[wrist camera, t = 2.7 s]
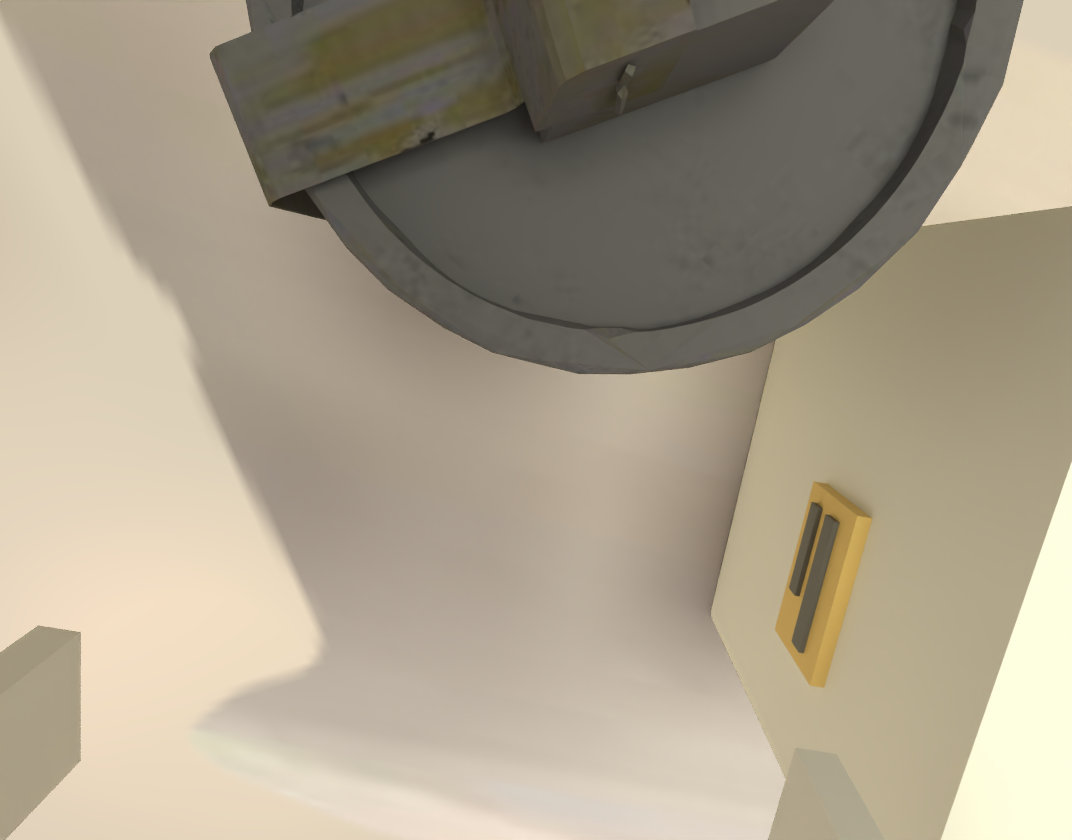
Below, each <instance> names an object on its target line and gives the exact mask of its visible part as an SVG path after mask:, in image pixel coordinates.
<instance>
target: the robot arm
mask: <svg viewBox="0 0 1072 840" xmlns="http://www.w3.org/2000/svg"><path fill="white" fill-rule="evenodd" d="M80 636H81V633H80V632H75V631H69V630H63V629H56V628H50V627H44V626H37V627H36V628H34V629H33V630H31V631H30V632H29V633H27V634H26V635H24V636H23V637H22V638H20V639H19V640H17V641H16V642H14V643H13V644H12V645H10V646H9V647H7V648H6V649H5V650H3V651H2V652H0V840H5V839H6V838H7V837H8V836H9V835H10V834H11V833H12V832H13V831H14V830H15V829H16V828H17V827H18V826H19V825H20V824H21V823H22V822H23V820H24V819H25V818H26V817H27V816H28V815H29V814H30V813H31V812H32V811H33V810H34V809H35V808H36V807H37V806H38V805H39V804H40V803H41V801H42V800H43V799H44V798H45V797H46V796H47V795H48V794H49V793H50V792H51V791H52V790H53V789H54V788H55V787H56V786H57V785H58V784H59V783H60V782H61V780H62V779H63V778H64V777H65V776H66V775H67V774H68V773H69V772H70V771H71V770H72V769H73V768H74V767H75V766H76V764H78V763H79V761H80V665H81V662H80V661H81V659H80V657H81V656H80V654H81V652H80V651H81V647H80V646H81V642H80V640H81V637H80ZM768 840H885V839H884V837H883V835H882V833H881V832H880V830H879V828H878V826H877V825H876V823H875V821H874V819H873V818H872V816H871V814H870V812H869V810H868V809H867V807H866V805H865V803H864V802H863V800H862V798H861V796H860V795H859V793H858V791H857V789H856V787H855V786H854V784H853V782H852V780H851V779H850V777H849V775H848V773H847V772H846V770H845V768H844V766H843V764H842V763H841V761H840V759H839V757H838V756H837V754H832V753H826V752H820V751H814V750H807V749H801V748H795V751H794V754H793V757H792V761H791V764H790V767H789V771H788V774H787V778H786V781H785V784H784V788H783V791H782V794H781V798H780V801H779V805H778V808H777V811H776V815H775V818H774V821H773V825H772V828H771V832H770V835H769V838H768Z"/></svg>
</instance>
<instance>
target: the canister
mask: <svg viewBox="0 0 1072 840" xmlns="http://www.w3.org/2000/svg"><path fill="white" fill-rule="evenodd" d="M246 4H247V9H248V15H249V20H250V26H251V31H252V32H250V33H248V34H246V35H243V36H241V37H238V38H236V39H233V40H231V41H228V42H226V43H223V44H221V45H219V46H216V47H215V48H214V49H213V50H212V52H211V53H210V59H211V61H212V64H213V66H214V69H215V71H216V74H217V77H218V79H219V82H220V84H221V87H222V89H223V92H224V94H225V97H226V99H227V102H228V104H229V107H230V109H231V112H232V114H233V117H234V119H235V122H236V124H237V127H238V129H239V132H240V134H241V137H242V139H243V142H244V144H245V147H246V149H247V152H248V154H249V157H250V159H251V162H252V164H253V167H254V169H255V172H256V174H257V177H258V179H259V182H260V184H261V187H262V189H263V192H264V194H265V197H266V200H267V202H268V205H269V206H270V207H274V208H278V209H282V210H287V211H291V212H295V213H299V214H303V215H307V216H311V217H315V218H320V219H324V220H327V221H328V222H329V224H330V225H331V227H332V228H333V229H334V231H335V232H336V234H337V235H338V236H339V238H340V239H341V241H342V242H343V243H344V245H345V246H346V247H347V249H348V250H349V251H350V252H351V253H352V254H353V255H354V256H355V257H356V258H357V259H358V260H359V261H360V262H361V263H362V264H363V265H364V266H365V267H366V268H367V269H368V270H369V271H370V272H371V273H372V274H373V275H374V276H375V277H376V278H377V279H378V280H379V281H380V282H381V283H382V284H383V285H384V286H385V287H386V288H387V289H388V290H389V291H391V292H392V293H394V294H395V295H397V296H398V297H400V298H401V299H403V300H404V301H405V302H407V303H408V304H410V305H411V306H413V307H414V308H416V309H417V310H419V311H420V312H422V313H423V314H424V315H426V316H427V317H429V318H430V319H432V320H433V321H435V322H436V323H438V324H439V325H441V326H442V327H444V328H446V329H448V330H450V331H452V332H453V333H455V334H457V335H459V336H461V337H463V338H465V339H467V340H469V341H471V342H473V343H475V344H477V345H479V346H481V347H483V348H485V349H487V350H489V351H491V352H493V353H497V354H501V355H505V356H508V357H512V358H516V359H520V360H524V361H528V362H532V363H536V364H540V365H544V366H549V367H553V368H557V369H561V370H565V371H569V372H574V373H578V374H637V373H646V372H654V371H663V370H672V369H681V368H689V367H693V366H697V365H701V364H705V363H709V362H713V361H717V360H721V359H725V358H729V357H733V356H737V355H741V354H745V353H749V352H752V351H754V350H756V349H758V348H760V347H762V346H764V345H766V344H768V343H770V342H772V341H774V340H776V339H778V338H780V337H782V336H784V335H786V334H788V333H790V332H792V331H794V330H796V329H798V328H800V327H802V326H804V325H806V324H807V323H809V322H810V321H812V320H813V319H815V318H816V317H818V316H819V315H821V314H822V313H824V312H825V311H827V310H828V309H830V308H831V307H833V306H834V305H836V304H837V303H839V302H840V301H842V300H843V299H845V298H846V297H847V296H849V295H850V294H852V293H853V292H855V291H856V290H858V289H859V288H860V287H861V286H862V285H863V284H864V283H865V282H866V281H867V280H868V279H869V278H871V277H872V276H873V275H874V274H875V273H876V272H877V271H878V270H879V269H880V268H881V267H882V266H883V265H884V264H885V263H886V262H887V261H888V260H889V259H890V258H891V257H892V256H893V255H894V254H895V253H896V252H897V251H898V250H899V249H901V248H902V247H903V246H904V245H905V244H906V243H907V242H908V241H909V240H910V239H911V238H912V237H913V236H914V235H915V234H916V233H917V232H918V230H919V229H920V227H921V226H922V224H923V223H924V221H925V220H926V218H927V217H928V215H929V214H930V212H931V211H932V209H933V208H934V206H935V205H936V203H937V202H938V200H939V199H940V197H941V195H942V194H943V192H944V191H945V189H946V188H947V186H948V185H949V183H950V182H951V180H952V179H953V177H954V176H955V174H956V173H957V171H958V170H959V168H960V167H961V165H962V163H963V161H964V159H965V158H966V156H967V154H968V152H969V150H970V148H971V146H972V145H973V143H974V141H975V139H976V137H977V135H978V133H979V131H980V129H981V127H982V125H983V123H984V121H985V119H986V117H987V115H988V113H989V111H990V109H991V107H992V105H993V103H994V101H995V99H996V97H997V95H998V93H999V91H1000V89H1001V87H1002V85H1003V82H1004V78H1005V74H1006V70H1007V66H1008V62H1009V58H1010V53H1011V49H1012V45H1013V41H1014V37H1015V33H1016V29H1017V24H1018V21H1019V17H1020V13H1021V8H1022V5H1023V0H246Z"/></svg>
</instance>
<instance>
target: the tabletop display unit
mask: <svg viewBox="0 0 1072 840" xmlns="http://www.w3.org/2000/svg"><path fill="white" fill-rule="evenodd" d="M710 615H711V617H712V620H713V622H714V624H715V626H716V628H717V631H718V633H719V635H720V637H721V639H722V641H723V644H724V646H725V648H726V650H727V652H728V654H729V657H730V659H731V661H732V663H733V665H734V667H735V670H736V672H737V674H738V676H739V678H740V680H741V683H742V685H743V687H744V689H745V691H746V694H747V696H748V698H749V700H750V702H751V704H752V707H753V709H754V711H755V713H756V715H757V717H758V720H759V722H760V724H761V726H762V728H763V730H764V733H765V735H766V737H767V739H768V741H769V744H770V746H771V748H772V750H773V752H774V754H775V757H776V759H777V761H778V763H779V765H780V767H781V770H782V772H783V774H784V776H785V778H787V774H788V771H789V767H790V764H791V761H792V757H793V754H794V751H795V748H801V749H807V750H814V751H820V752H826V753H832V754H837V756H838V757H839V759H840V761H841V763H842V764H843V766H844V768H845V770H846V772H847V773H848V775H849V777H850V779H851V780H852V782H853V784H854V786H855V787H856V789H857V791H858V793H859V795H860V796H861V798H862V800H863V802H864V803H865V805H866V807H867V809H868V810H869V812H870V814H871V816H872V818H873V819H874V821H875V823H876V825H877V826H878V828H879V830H880V832H881V833H882V835H883V837H884V839H885V840H1072V206H1071V207H1064V208H1056V209H1049V210H1041V211H1034V212H1026V213H1019V214H1011V215H1004V216H996V217H989V218H981V219H974V220H966V221H959V222H951V223H944V224H936V225H929V226H921V227H920V229H919V230H918V232H917V233H916V234H915V235H914V236H913V237H912V238H911V239H910V240H909V241H908V242H907V243H906V244H905V245H904V246H903V247H902V248H901V249H899V250H898V251H897V252H896V253H895V254H894V255H893V256H892V257H891V258H890V259H889V260H888V261H887V262H886V263H885V264H884V265H883V266H882V267H881V268H880V269H879V270H878V271H877V272H876V273H875V274H874V275H873V276H872V277H871V278H869V279H868V280H867V281H866V282H865V283H864V284H863V285H862V286H861V287H860V288H859V289H858V290H856V291H855V292H853V293H852V294H850V295H849V296H847V297H846V298H845V299H843V300H842V301H840V302H839V303H837V304H836V305H834V306H833V307H831V308H830V309H828V310H827V311H825V312H824V313H822V314H821V315H819V316H818V317H816V318H815V319H813V320H812V321H810V322H809V323H807V324H806V325H804V326H802V327H800V328H798V329H796V330H794V331H792V332H790V333H788V334H786V335H784V336H782V337H780V338H778V339H776V340H775V344H774V349H773V353H772V357H771V361H770V365H769V370H768V374H767V378H766V382H765V386H764V390H763V395H762V399H761V403H760V407H759V411H758V416H757V420H756V424H755V428H754V432H753V437H752V441H751V445H750V449H749V453H748V458H747V462H746V466H745V470H744V474H743V479H742V483H741V487H740V491H739V495H738V500H737V504H736V508H735V512H734V516H733V521H732V525H731V529H730V533H729V537H728V541H727V546H726V550H725V554H724V558H723V562H722V567H721V571H720V575H719V579H718V583H717V588H716V592H715V596H714V600H713V604H712V609H711V613H710Z"/></svg>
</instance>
